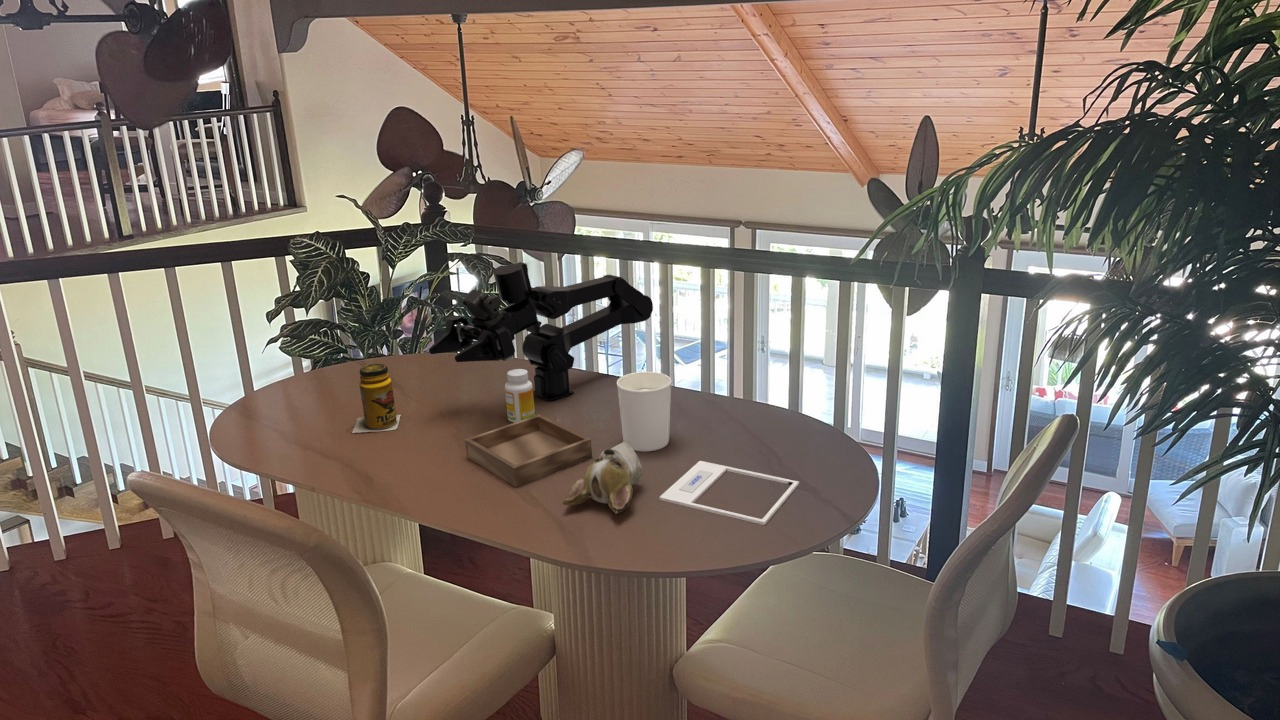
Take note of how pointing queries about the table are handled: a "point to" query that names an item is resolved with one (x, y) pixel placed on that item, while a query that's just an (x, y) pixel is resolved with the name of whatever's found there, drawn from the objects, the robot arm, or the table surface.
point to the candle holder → (645, 409)
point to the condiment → (376, 400)
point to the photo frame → (704, 477)
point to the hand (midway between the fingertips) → (442, 355)
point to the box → (528, 449)
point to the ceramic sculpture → (609, 479)
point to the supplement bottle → (519, 396)
